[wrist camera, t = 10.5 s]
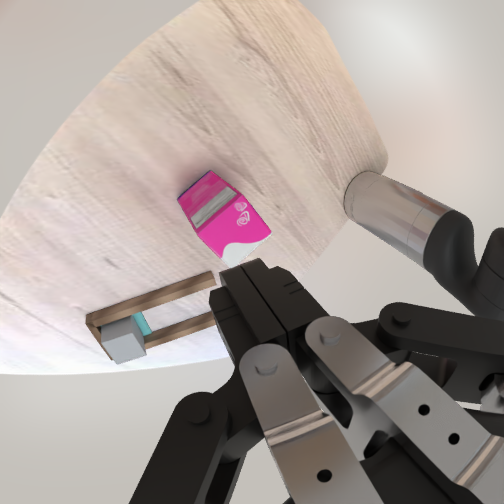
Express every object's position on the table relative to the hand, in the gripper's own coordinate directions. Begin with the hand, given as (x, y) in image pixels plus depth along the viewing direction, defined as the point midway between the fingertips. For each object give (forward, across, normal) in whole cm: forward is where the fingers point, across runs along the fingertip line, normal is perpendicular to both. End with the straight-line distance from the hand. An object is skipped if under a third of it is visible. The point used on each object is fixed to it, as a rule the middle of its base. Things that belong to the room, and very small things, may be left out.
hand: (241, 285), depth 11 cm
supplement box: (+27, -4, +7) cm, 28 cm away
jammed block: (+27, +14, +22) cm, 37 cm away
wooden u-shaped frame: (+27, +8, +22) cm, 36 cm away
